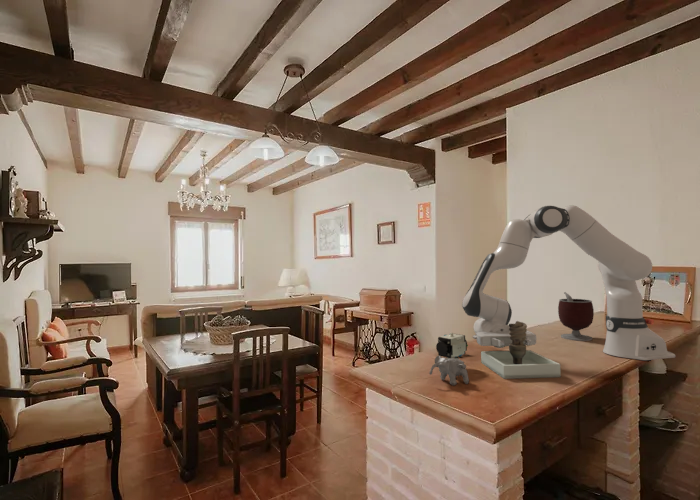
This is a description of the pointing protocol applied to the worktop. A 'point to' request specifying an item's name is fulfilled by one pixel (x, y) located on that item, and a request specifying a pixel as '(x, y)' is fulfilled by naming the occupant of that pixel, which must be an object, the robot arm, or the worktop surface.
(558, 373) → the tray
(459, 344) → the pneumatic valve
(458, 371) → the gray elephant figurine
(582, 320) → the mate gourd
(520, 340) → the light bulb
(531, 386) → the worktop surface
